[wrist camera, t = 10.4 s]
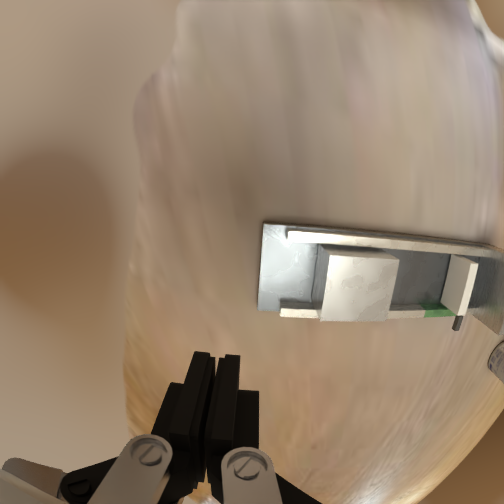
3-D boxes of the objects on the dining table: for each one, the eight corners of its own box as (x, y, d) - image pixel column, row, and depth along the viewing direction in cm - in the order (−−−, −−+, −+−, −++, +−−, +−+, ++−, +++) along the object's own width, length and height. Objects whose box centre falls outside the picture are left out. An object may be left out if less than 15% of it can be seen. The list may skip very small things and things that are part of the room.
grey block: (318, 243, 25) (329, 255, 21) (380, 248, 25) (399, 259, 21) (311, 300, 26) (319, 320, 22) (370, 302, 26) (386, 320, 22)
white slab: (451, 254, 25) (471, 263, 22) (459, 254, 25) (479, 264, 22) (436, 316, 27) (452, 331, 23) (443, 316, 27) (460, 330, 23)
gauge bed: (263, 221, 26) (266, 239, 19) (489, 244, 26) (533, 262, 19) (257, 303, 28) (257, 348, 20) (475, 305, 28) (512, 332, 21)
